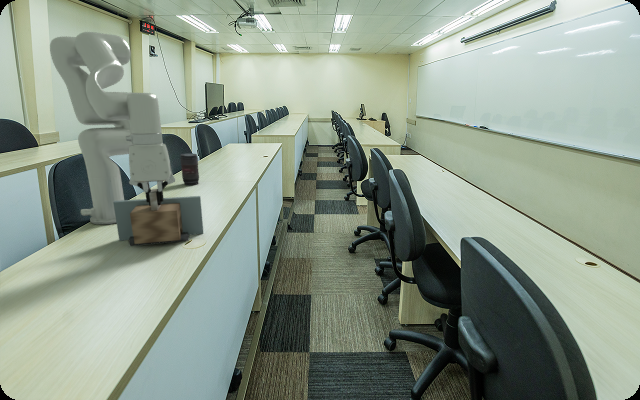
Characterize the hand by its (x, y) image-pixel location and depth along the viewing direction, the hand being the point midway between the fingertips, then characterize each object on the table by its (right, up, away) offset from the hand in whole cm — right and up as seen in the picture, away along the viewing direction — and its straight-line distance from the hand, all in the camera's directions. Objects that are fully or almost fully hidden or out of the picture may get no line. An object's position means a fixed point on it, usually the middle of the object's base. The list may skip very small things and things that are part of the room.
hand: (155, 203), depth 101 cm
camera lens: (-18, +9, +77) cm, 79 cm away
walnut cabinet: (0, -10, +3) cm, 10 cm away
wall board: (-1, -10, +8) cm, 13 cm away
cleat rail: (0, -11, +3) cm, 12 cm away
